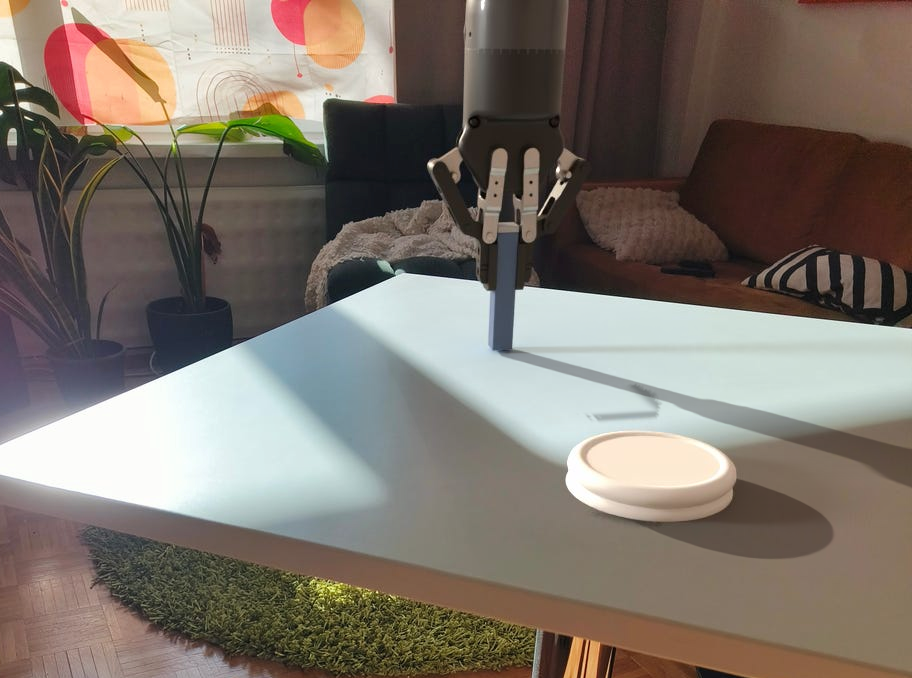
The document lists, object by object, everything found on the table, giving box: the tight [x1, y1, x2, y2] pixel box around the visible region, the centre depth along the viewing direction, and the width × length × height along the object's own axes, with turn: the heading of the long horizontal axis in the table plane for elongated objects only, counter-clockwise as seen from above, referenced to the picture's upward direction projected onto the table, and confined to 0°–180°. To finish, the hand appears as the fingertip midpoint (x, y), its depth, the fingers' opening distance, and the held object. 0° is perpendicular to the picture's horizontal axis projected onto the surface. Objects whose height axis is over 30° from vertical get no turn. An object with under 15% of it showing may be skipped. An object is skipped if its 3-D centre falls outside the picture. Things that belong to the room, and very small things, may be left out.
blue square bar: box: [487, 221, 519, 351], centre depth 76 cm, size 2×2×10 cm
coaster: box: [565, 430, 738, 523], centre depth 54 cm, size 10×10×4 cm
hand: (503, 287), depth 76 cm, fingers closed on blue square bar, 2 cm apart
